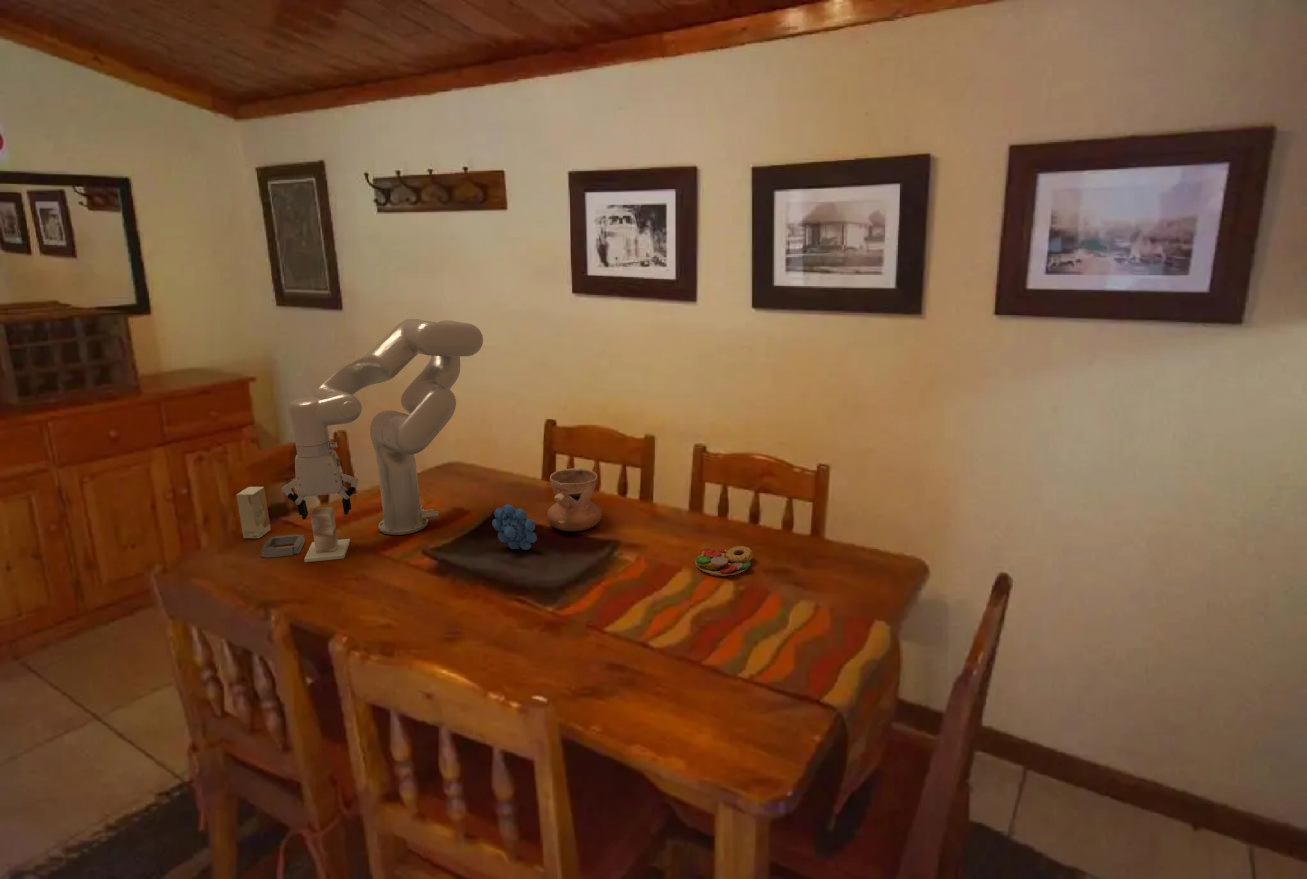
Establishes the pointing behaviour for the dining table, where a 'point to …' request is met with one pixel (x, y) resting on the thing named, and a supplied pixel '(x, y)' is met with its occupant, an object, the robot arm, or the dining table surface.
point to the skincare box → (253, 512)
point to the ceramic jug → (573, 500)
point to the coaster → (338, 554)
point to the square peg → (324, 530)
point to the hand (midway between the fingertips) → (326, 514)
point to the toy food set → (725, 560)
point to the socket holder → (283, 551)
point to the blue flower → (514, 527)
